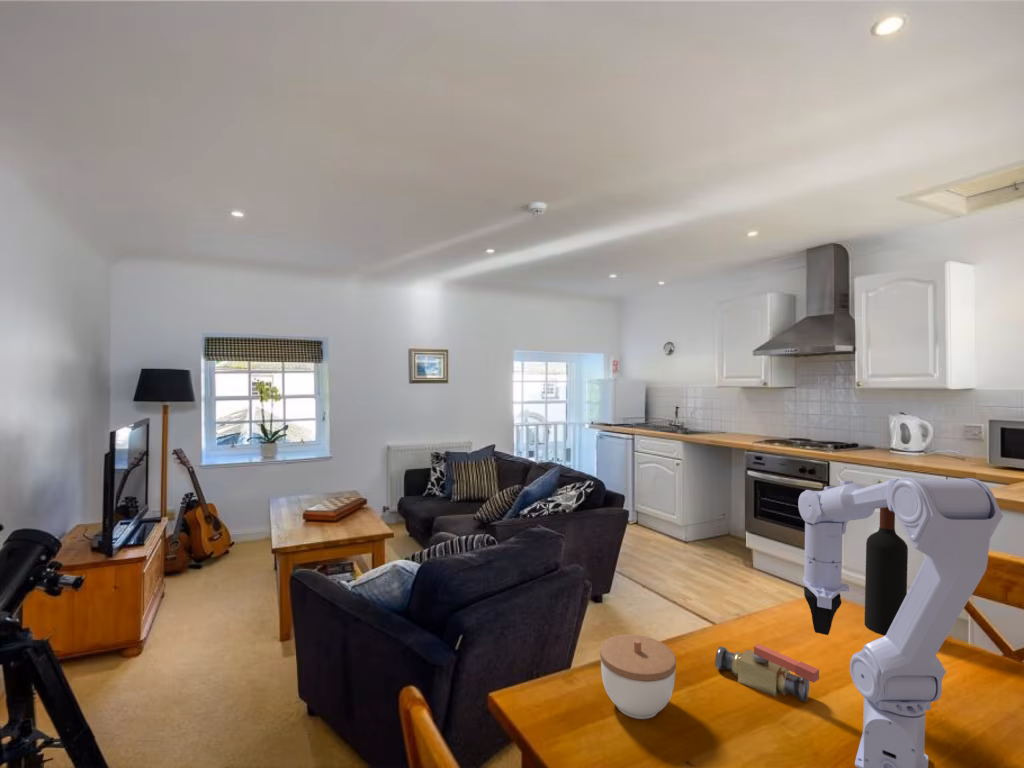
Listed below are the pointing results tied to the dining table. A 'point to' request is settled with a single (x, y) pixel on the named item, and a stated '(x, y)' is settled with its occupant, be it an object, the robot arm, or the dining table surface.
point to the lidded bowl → (637, 674)
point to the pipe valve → (762, 674)
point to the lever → (785, 662)
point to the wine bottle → (885, 574)
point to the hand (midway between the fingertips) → (821, 632)
